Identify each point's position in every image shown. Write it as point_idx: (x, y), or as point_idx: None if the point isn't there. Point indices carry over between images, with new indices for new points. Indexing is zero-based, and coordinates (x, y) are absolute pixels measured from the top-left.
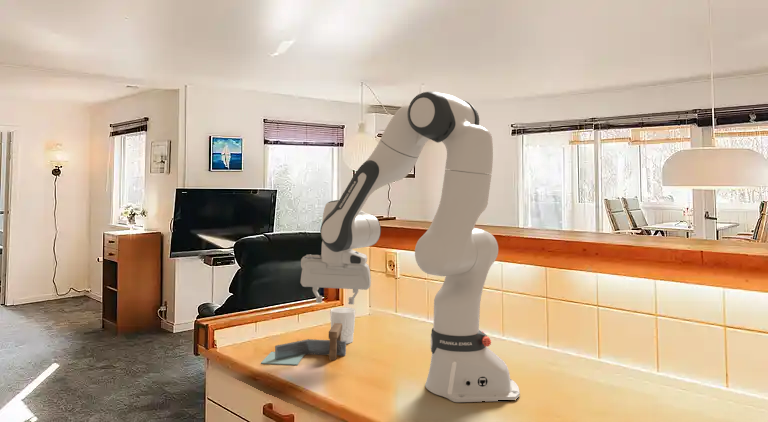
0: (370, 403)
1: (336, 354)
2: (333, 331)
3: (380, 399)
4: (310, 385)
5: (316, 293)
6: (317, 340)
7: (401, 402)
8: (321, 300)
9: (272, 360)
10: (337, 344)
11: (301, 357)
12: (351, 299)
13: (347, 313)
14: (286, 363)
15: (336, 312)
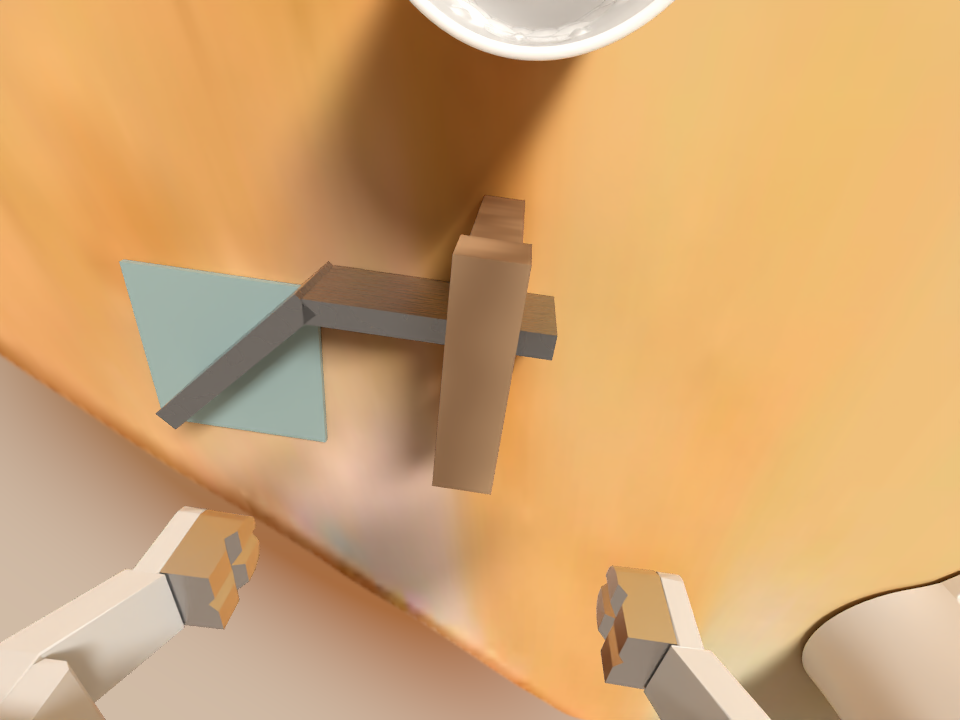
0: (598, 685)
1: None
2: (464, 484)
3: None
4: (422, 593)
5: (127, 673)
6: (361, 325)
7: None
8: (243, 549)
9: None
10: None
11: (317, 359)
12: (642, 674)
13: (611, 42)
14: (276, 432)
15: (448, 33)
